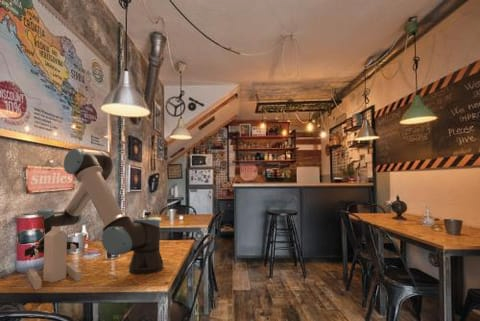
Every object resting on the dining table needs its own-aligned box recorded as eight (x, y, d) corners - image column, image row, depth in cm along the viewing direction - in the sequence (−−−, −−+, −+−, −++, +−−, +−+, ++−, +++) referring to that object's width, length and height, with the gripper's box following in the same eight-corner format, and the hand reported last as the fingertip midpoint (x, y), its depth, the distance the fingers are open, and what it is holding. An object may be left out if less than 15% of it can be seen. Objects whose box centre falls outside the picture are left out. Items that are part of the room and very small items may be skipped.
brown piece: (28, 277, 127) (28, 269, 127) (69, 269, 138) (70, 262, 138) (35, 289, 112) (35, 280, 112) (81, 280, 123) (81, 271, 123)
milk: (52, 282, 120) (53, 228, 122) (42, 280, 123) (44, 227, 124) (66, 278, 126) (67, 225, 127) (57, 276, 128) (58, 225, 130)
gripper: (77, 248, 146) (89, 255, 131) (14, 257, 130) (19, 267, 114) (77, 232, 147) (89, 238, 131) (14, 240, 130) (20, 247, 115)
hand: (56, 251), depth 123 cm, fingers open, 13 cm apart
